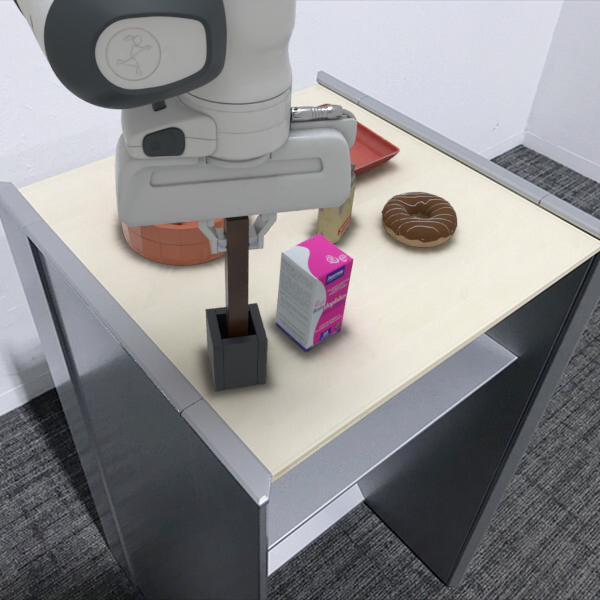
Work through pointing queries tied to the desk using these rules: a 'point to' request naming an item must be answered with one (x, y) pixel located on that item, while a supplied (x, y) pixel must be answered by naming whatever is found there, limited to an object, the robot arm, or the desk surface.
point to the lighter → (336, 216)
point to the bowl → (172, 242)
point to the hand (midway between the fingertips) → (236, 247)
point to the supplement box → (312, 291)
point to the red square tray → (369, 149)
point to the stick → (237, 275)
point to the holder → (236, 350)
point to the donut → (419, 232)
